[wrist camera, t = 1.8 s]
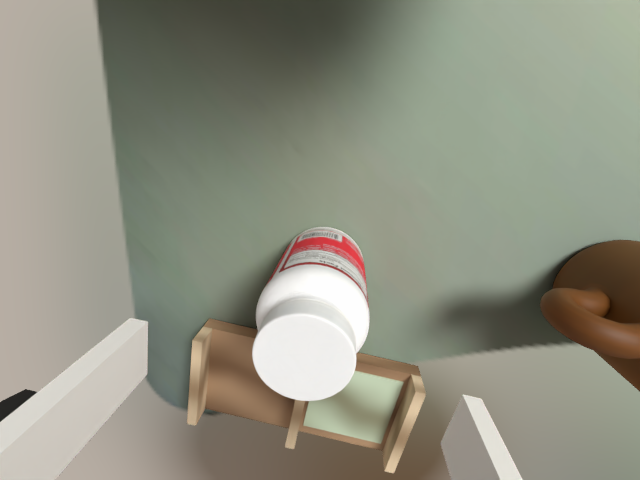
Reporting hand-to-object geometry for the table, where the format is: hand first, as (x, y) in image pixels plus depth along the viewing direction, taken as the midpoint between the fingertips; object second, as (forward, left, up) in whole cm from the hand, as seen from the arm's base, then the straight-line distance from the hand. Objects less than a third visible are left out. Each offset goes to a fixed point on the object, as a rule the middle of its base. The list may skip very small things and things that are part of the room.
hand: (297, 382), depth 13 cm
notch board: (+12, +1, -12) cm, 17 cm away
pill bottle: (0, 0, -12) cm, 12 cm away
